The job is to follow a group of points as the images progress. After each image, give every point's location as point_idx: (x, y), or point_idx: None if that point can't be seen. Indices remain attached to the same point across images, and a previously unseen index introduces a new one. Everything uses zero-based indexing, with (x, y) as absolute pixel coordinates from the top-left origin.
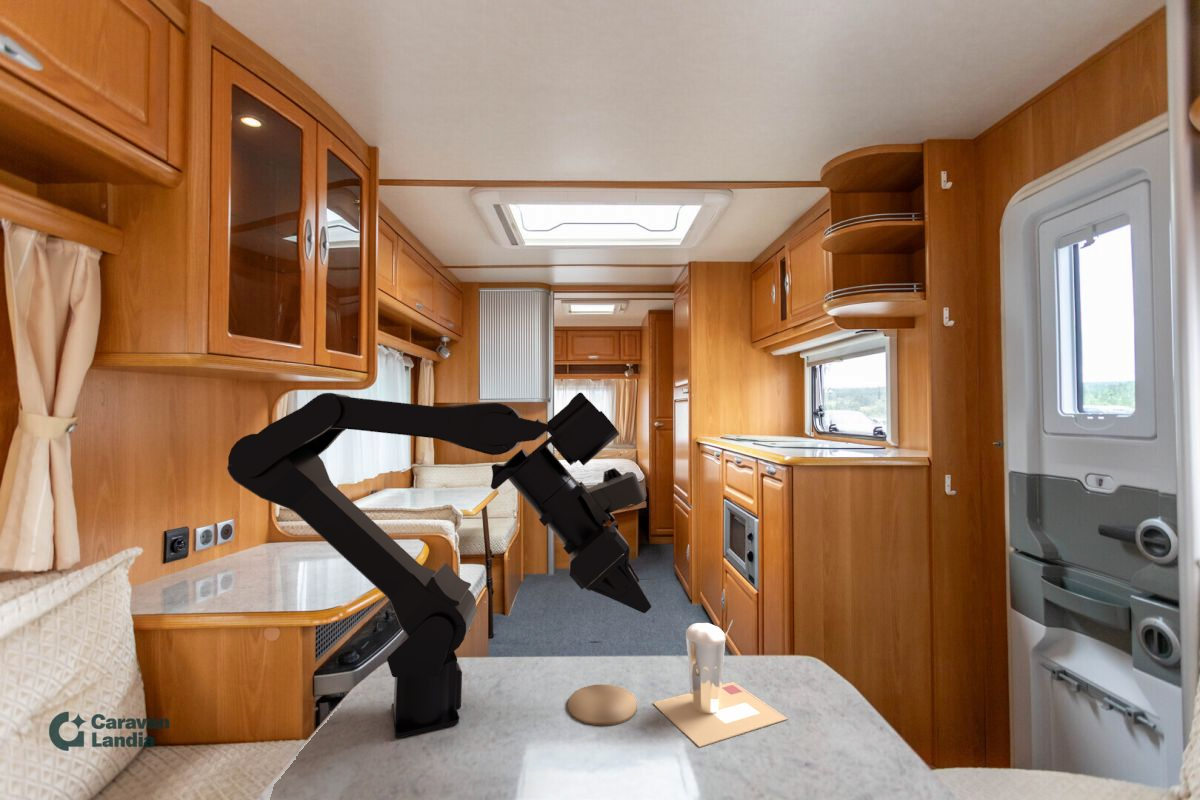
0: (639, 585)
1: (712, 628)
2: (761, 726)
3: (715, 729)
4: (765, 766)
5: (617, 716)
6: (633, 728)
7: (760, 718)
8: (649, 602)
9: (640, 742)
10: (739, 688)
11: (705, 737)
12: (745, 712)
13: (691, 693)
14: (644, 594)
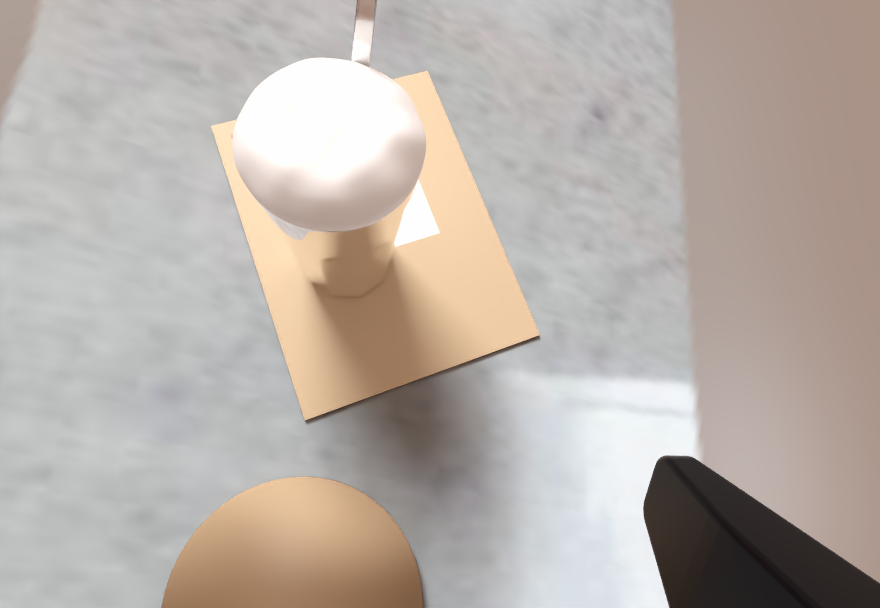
0: (837, 601)
1: (348, 94)
2: (458, 147)
3: (467, 268)
4: (608, 204)
5: (395, 562)
6: (440, 510)
7: None
8: (680, 467)
9: (511, 498)
10: None
11: (501, 306)
12: None
13: (342, 288)
14: (804, 533)
